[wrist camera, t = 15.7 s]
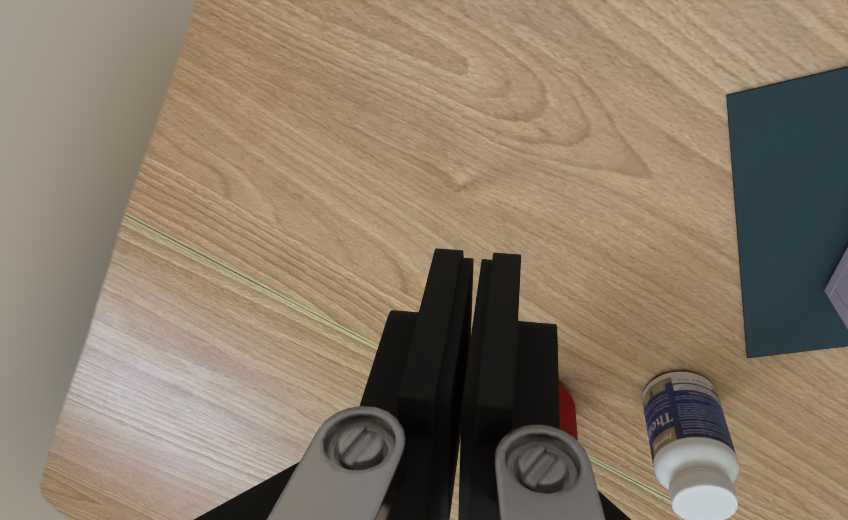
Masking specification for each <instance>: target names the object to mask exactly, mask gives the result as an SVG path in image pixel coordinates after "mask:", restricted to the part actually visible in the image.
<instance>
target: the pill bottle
mask: <svg viewBox="0 0 848 520" xmlns="http://www.w3.org/2000/svg"><path fill="white" fill-rule="evenodd" d="M643 407H644V414H645V419H646V426H647V431H648V437H649V443H650V449H651V455H652V461H653V467H654V471H655V474H656V477H657V479H658V480H659V482H660V483H661V484H662V485H663V486H664V487H665V488H666V489H668V490H669V495H670V499H671V503H672V507H673V510H674V511H675V513H676V514H677V515H678V516H680V517H681V518H683V519H685V520H725V519H727V518H729V517H730V516H732V515H733V514H734V513H735V512H736V510H737V508H738V499H737V495H736V491H735V486H734V484H733V483H734V481H735V480H736V478H737V476H738V472H739V465H738V460H737V456H736V453H735V450H734V447H733V444H732V440H731V437H730V434H729V431H728V427H727V424H726V421H725V418H724V414H723V411H722V408H721V404H720V401H719V398H718V395H717V392H716V390H715V388H714V386H713V385H712V383H711V382H710V381H708V380H707V379H706V378H704V377H702V376H700V375H697V374H694V373H690V372H671V373H667V374H663V375H661V376H659V377H657V378H656V379H654V380H653V381H651V382H650V383H649V384H648V385H647V387H646V389H645V390H644V393H643Z"/></svg>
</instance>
